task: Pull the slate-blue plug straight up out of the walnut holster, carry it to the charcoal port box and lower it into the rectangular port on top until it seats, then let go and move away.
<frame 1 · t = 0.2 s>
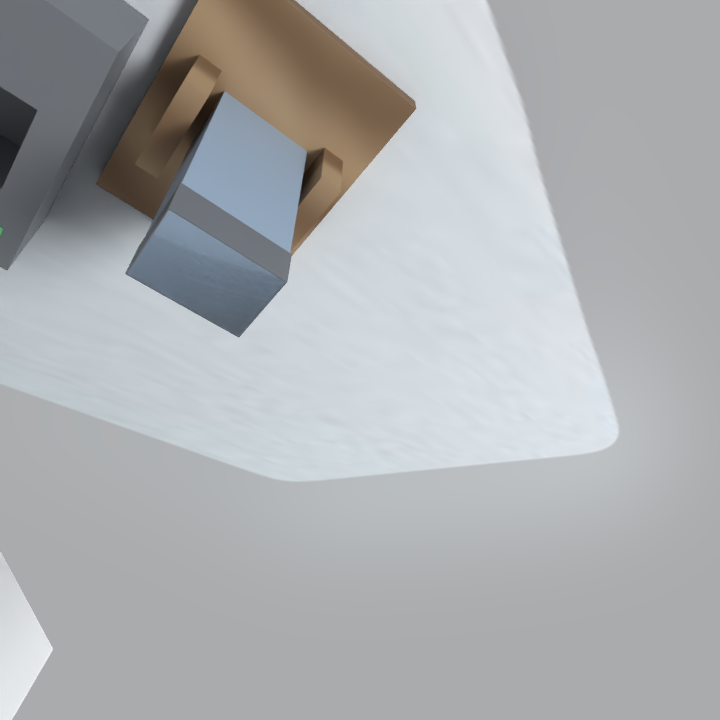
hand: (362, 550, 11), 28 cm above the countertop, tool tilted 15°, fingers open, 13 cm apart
holster: (251, 140, 35), on the countertop
plug: (249, 147, 34), point 1 cm above the countertop, touching holster
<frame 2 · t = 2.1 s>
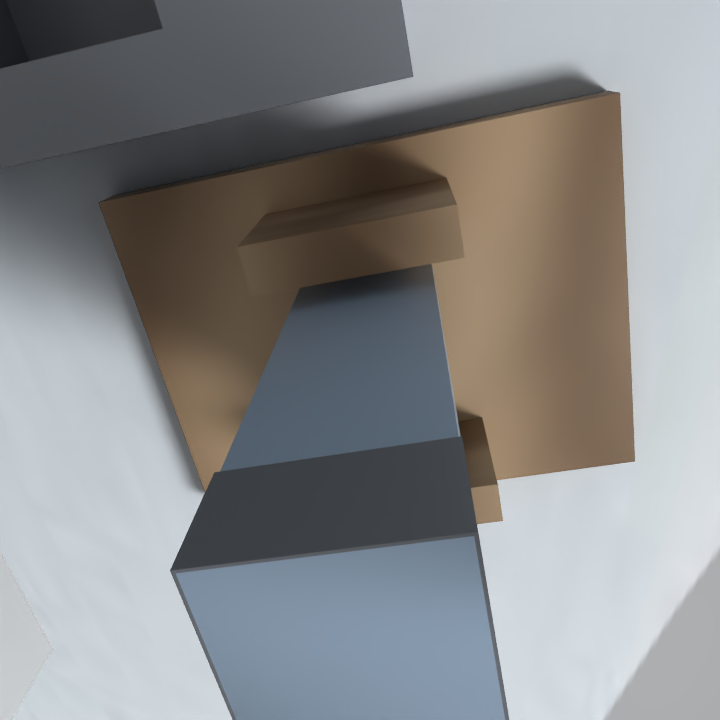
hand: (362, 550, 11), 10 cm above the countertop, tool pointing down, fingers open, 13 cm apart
holster: (384, 327, 20), on the countertop
plug: (384, 340, 19), point 1 cm above the countertop, touching holster
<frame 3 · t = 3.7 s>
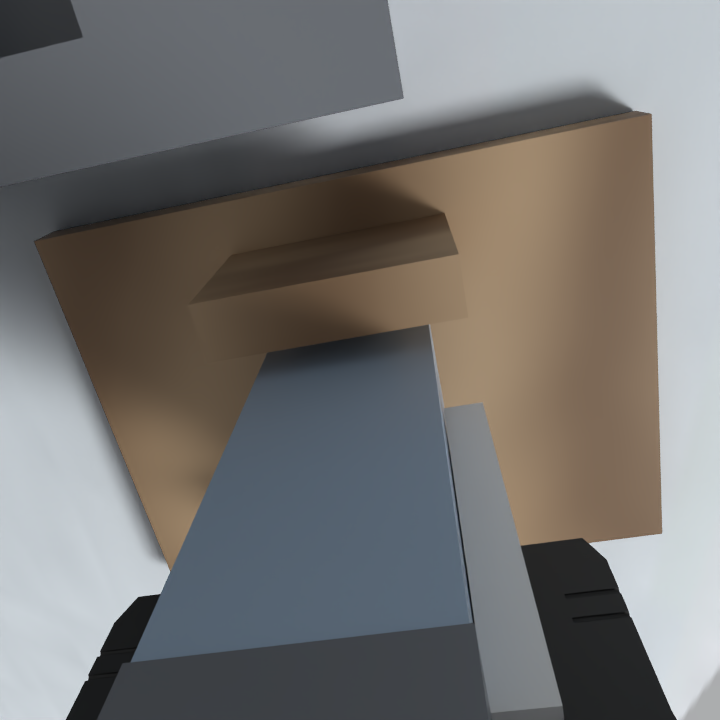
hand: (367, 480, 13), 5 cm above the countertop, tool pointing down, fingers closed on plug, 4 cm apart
holster: (373, 381, 17), on the countertop
plug: (372, 398, 17), point 1 cm above the countertop, touching gripper, holster
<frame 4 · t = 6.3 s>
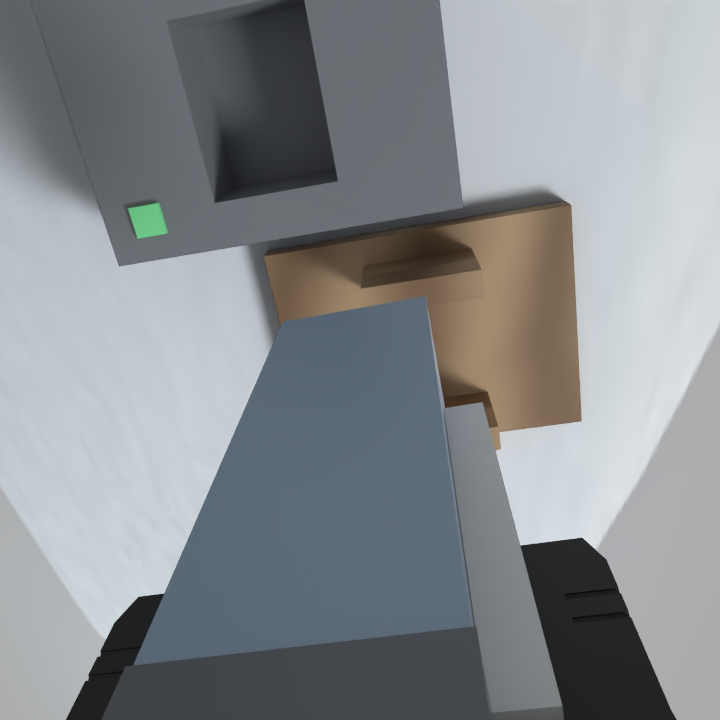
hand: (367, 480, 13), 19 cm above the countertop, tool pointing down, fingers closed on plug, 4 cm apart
port box: (277, 99, 28), on the countertop
holster: (428, 334, 32), on the countertop
plug: (373, 400, 17), point 16 cm above the countertop, touching gripper
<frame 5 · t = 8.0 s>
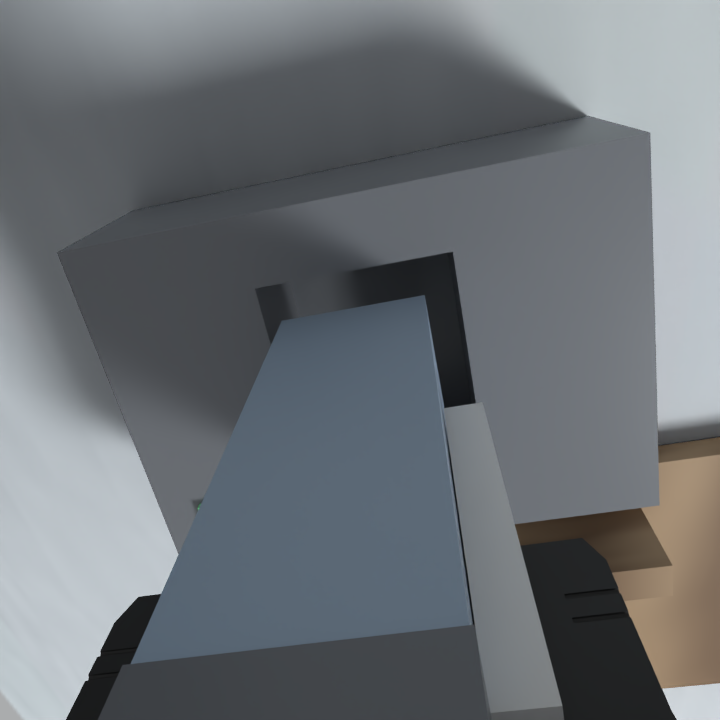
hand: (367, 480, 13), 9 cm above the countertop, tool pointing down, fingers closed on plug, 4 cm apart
port box: (381, 318, 22), on the countertop
holster: (563, 577, 26), on the countertop
plug: (372, 399, 17), point 6 cm above the countertop, touching gripper
when the fingers open (6 cm above the countertop, at t = 9.2 s): plug drops 1 cm, resting on port box.
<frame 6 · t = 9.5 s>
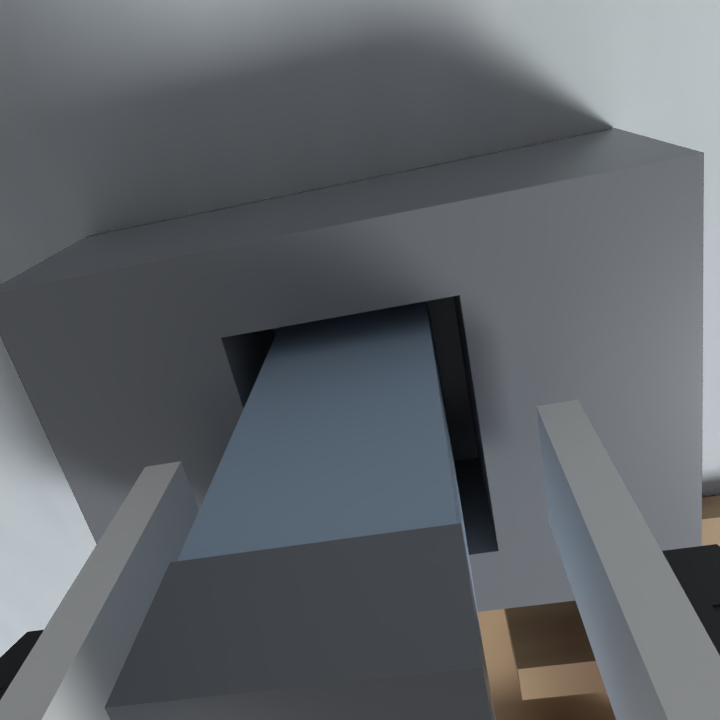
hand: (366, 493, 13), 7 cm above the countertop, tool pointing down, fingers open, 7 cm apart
port box: (375, 358, 19), on the countertop
holster: (580, 640, 23), on the countertop
plug: (374, 373, 18), point 1 cm above the countertop, touching port box
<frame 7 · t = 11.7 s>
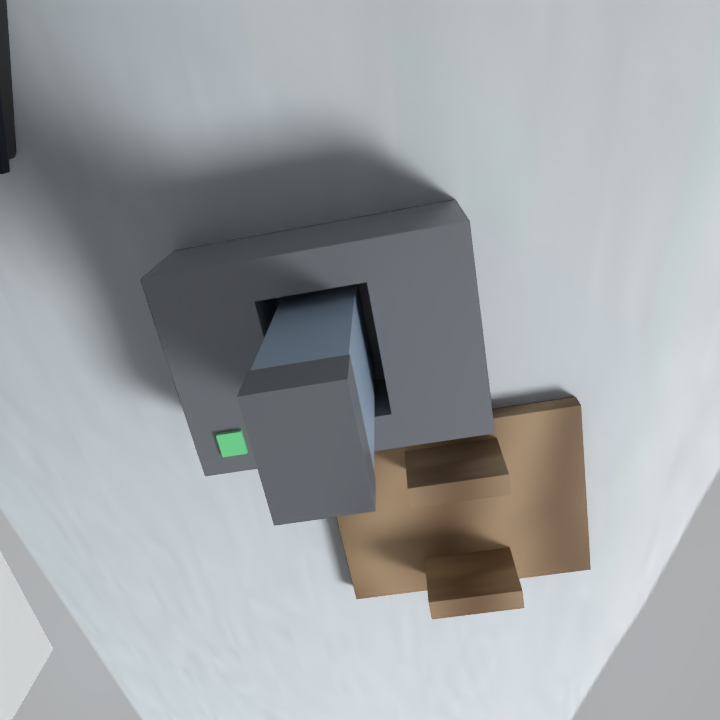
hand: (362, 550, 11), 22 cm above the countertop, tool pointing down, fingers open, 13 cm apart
port box: (332, 321, 33), on the countertop
holster: (458, 499, 38), on the countertop
plug: (331, 328, 33), point 1 cm above the countertop, touching port box
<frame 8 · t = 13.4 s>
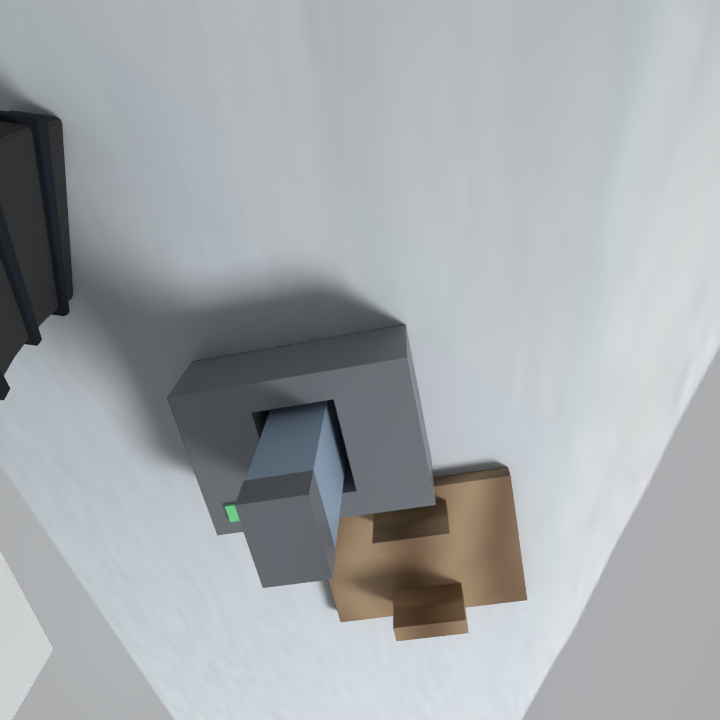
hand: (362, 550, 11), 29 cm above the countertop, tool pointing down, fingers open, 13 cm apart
port box: (314, 412, 43), on the countertop
holster: (419, 544, 47), on the countertop
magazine: (47, 227, 39), on the countertop
plug: (313, 419, 42), point 1 cm above the countertop, touching port box
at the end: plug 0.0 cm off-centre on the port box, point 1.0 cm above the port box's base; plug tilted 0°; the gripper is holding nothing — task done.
